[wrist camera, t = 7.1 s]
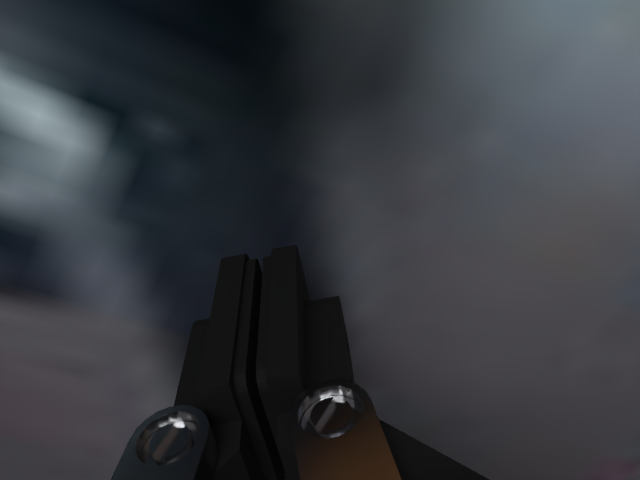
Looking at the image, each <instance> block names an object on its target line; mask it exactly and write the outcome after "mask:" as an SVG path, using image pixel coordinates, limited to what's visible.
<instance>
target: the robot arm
mask: <svg viewBox="0 0 640 480" xmlns="http://www.w3.org/2000/svg"><path fill="white" fill-rule="evenodd" d="M285 474H286V477H287V480H489V479H487V478H485V477H483V476H481V475H480V474H478V473H476V472H474V471H472V470H471V469H469V468H467V467H465V466H463V465H461V464H460V463H458V462H456V461H454V460H452V459H451V458H449V457H447V456H445V455H443V454H441V453H440V452H438V451H436V450H434V449H432V448H430V447H429V446H427V445H425V444H423V443H421V442H420V441H418V440H416V439H414V438H412V437H410V436H409V435H407V434H405V433H403V432H401V431H400V430H398V429H396V428H394V427H392V426H390V425H389V424H387V423H385V422H383V421H381V420H379V419H378V416H377V414H376V411H375V409H374V406H373V403H372V401H371V399H370V397H369V395H368V394H367V392H366V391H365V390H364V389H363V388H361V387H360V386H359V385H357V384H355V383H354V377H353V370H352V363H351V356H350V350H349V344H348V338H347V333H346V327H345V322H344V317H343V312H342V307H341V302H340V298H339V296H336V297H331V298H325V299H319V300H313V301H310V299H309V294H308V290H307V286H306V282H305V277H304V273H303V269H302V264H301V260H300V256H299V252H298V248H297V246H296V245H293V246H287V247H282V248H276V249H272V254H271V256H268V257H264V259H263V272H261V268H260V265H259V262H258V259H251V260H249V257H248V255H247V254H243V255H237V256H231V257H226V258H222V259H221V263H220V268H219V274H218V279H217V284H216V289H215V295H214V300H213V305H212V310H211V315H210V319H204V320H198V321H195V322H194V324H193V326H192V330H191V334H190V338H189V343H188V347H187V351H186V356H185V360H184V364H183V369H182V373H181V377H180V382H179V386H178V390H177V395H176V399H175V403H174V406H173V407H168V408H166V409H163V410H161V411H158V412H156V413H155V414H153V415H152V416H150V417H149V418H147V419H146V420H145V421H144V422H143V423H142V424H141V425H140V426H138V427H137V428H136V430H135V432H134V433H133V435H132V436H131V438H130V440H129V442H128V444H127V446H126V448H125V450H124V452H123V455H122V457H121V459H120V461H119V463H118V465H117V467H116V470H115V472H114V474H113V476H112V478H111V480H285Z"/></svg>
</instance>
